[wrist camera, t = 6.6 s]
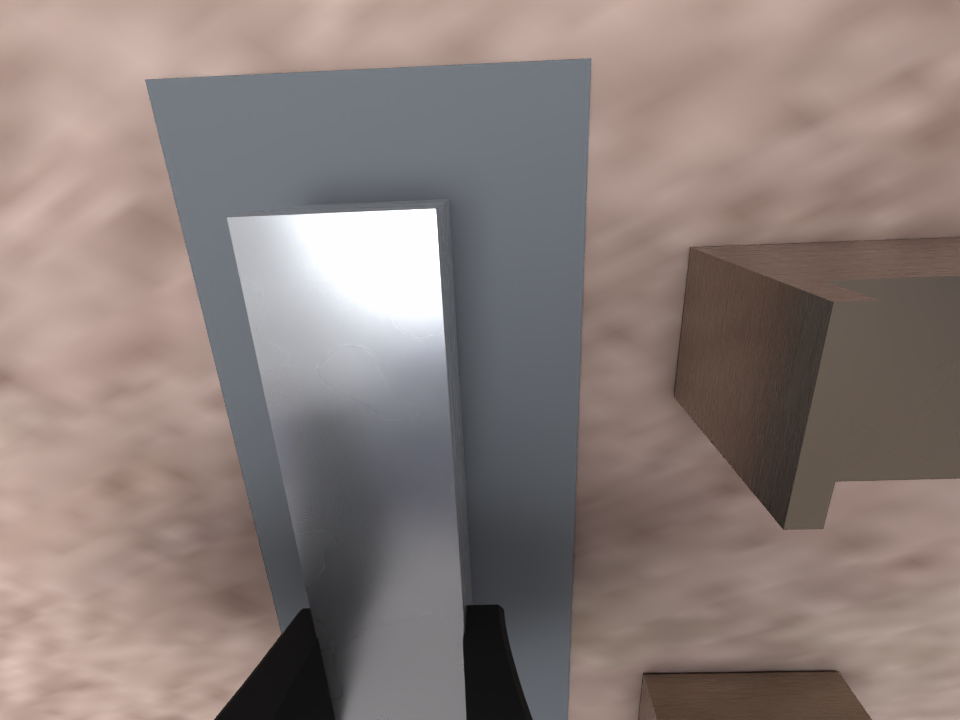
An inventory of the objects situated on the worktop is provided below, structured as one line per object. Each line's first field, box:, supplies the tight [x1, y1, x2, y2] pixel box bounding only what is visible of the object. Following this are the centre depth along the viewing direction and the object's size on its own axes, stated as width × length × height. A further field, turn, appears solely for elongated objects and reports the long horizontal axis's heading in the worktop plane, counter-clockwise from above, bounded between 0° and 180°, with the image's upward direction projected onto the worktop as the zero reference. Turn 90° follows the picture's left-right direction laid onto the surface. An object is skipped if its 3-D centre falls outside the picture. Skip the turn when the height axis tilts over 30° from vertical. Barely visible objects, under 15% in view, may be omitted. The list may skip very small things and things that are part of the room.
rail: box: [227, 199, 473, 720], centre depth 10 cm, size 2×16×2 cm, turn 2°
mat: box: [145, 58, 591, 720], centre depth 11 cm, size 7×20×1 cm, turn 2°
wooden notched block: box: [674, 237, 960, 530], centre depth 8 cm, size 5×3×4 cm, turn 92°
